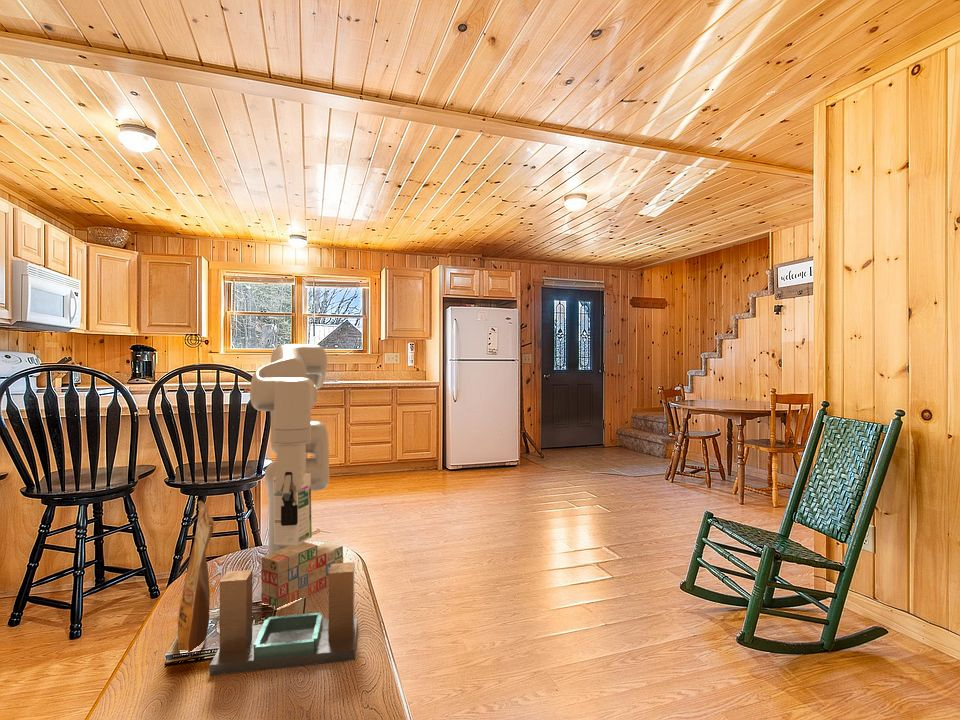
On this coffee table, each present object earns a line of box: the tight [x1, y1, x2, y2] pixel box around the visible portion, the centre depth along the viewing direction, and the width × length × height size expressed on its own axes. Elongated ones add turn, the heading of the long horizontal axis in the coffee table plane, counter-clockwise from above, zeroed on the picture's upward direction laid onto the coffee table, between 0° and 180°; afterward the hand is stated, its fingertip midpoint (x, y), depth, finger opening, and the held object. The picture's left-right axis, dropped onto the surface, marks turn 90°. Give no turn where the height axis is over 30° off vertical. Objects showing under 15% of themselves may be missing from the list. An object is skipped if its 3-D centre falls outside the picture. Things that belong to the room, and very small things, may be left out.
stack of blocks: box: [260, 541, 344, 608], centre depth 133 cm, size 21×6×12 cm, turn 149°
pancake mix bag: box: [177, 500, 215, 652], centre depth 110 cm, size 7×19×28 cm, turn 27°
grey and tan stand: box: [208, 562, 359, 676], centre depth 107 cm, size 14×27×16 cm, turn 101°
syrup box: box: [273, 472, 312, 546], centre depth 109 cm, size 6×6×14 cm
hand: (292, 518), depth 109 cm, fingers closed on syrup box, 7 cm apart
